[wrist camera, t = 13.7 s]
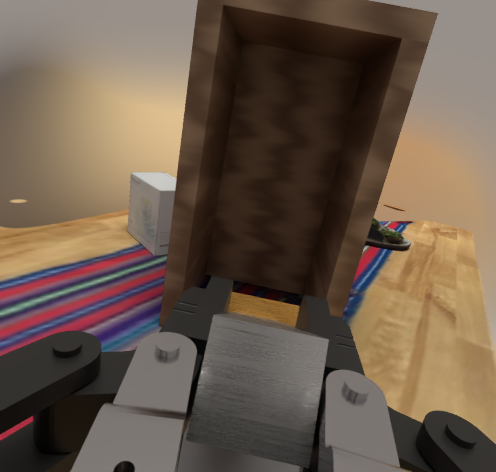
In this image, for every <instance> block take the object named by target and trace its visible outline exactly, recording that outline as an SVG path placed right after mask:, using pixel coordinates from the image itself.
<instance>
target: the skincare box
mask: <svg viewBox="0 0 496 472" xmlns="http://www.w3.org/2000/svg"><path fill="white" fill-rule="evenodd" d="M176 180H177V179H176V178H174V177H172V176H170V175H168V174H167V173H165V172H131V181H130V200H129V216H128V232H129V233H130V234H131V235H132V236H133V237H134V238H135V239H137V240H138V241H139V242H140V243H141V244H142V245H143V246H144V247H145V248H146V249H147V250H149V251H150V252H151V253H152V254H153V255H154V256H160V255H166V254H168V247H169V239H170V230H171V222H172V213H173V205H174V197H175V188H176Z"/></svg>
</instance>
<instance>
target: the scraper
mask: <svg viewBox="0 0 496 472" xmlns="http://www.w3.org/2000/svg"><path fill="white" fill-rule="evenodd" d="M298 311H299V306H298V305H293V304H288V303H283V302H279V301H274V300H269V299H264V298H259V297H255V296H250V295H245V294H240V293H236V292H232V294H231V299H230V305H229V310H228V313H226V314H216V315H213V319H212V323H211V328H210V332H209V337H208V341H207V346H206V350H205V355H204V359H203V364H202V368H201V373H200V378H199V382H198V387H197V391H196V396H195V400H194V405H193V409H192V414H191V418H190V423H189V427H188V432H187V436H186V441H190V442H195V443H199V444H204V445H208V446H212V447H217V448H221V449H226V450H230V451H234V452H239V453H243V454H248V455H252V456H257V457H261V458H265V459H270V460H274V461H279V462H283V463H287V464H292V465H296V466H301V467H305V468H309V465H310V458H311V452H312V445H313V439H314V432H315V426H316V419H317V413H318V406H319V400H320V394H321V387H322V381H323V374H324V368H325V361H326V355H327V348H328V342H329V339H326V338H323V337H321V336H318V335H315V334H313V333H309V332H306V331H304V330H301V329H298V328H295V325H296V321H297V317H298Z"/></svg>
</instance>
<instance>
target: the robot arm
mask: <svg viewBox="0 0 496 472" xmlns="http://www.w3.org/2000/svg"><path fill="white" fill-rule="evenodd" d="M233 282H234V280H232V279H227V278H222V277H218V276H213V275H212V277H211V279H210V281H209V283H208V285H207V287H206V289H203V288H199V287H194V286H193V287H191V288H190V289H188V290H186V291H184V292H183V293H182V294H181V296H180V298H179V300H178V302H177V303H176V305H175V306H174V308H173V310H172V311H171V313H170V315H169V316H168V318H167V320H166V321H165V323H164V325H163V326H162V328H161V330H160V331H159V333H155V334H152V335H149V336H147V337H146V338H144V339H143V340H142V341H141V342H140V343H139V345H138V347H137V349H136V350H132V351H124V352H101V343H100V341H99V340H98V339H97V338H96V337H95V336H93V335H92V334H89V333H86V332H81V331H65V332H60V333H56V334H53V335H50V336H47V337H45V338H43V339H40V340H38V341H35V342H33V343H31V344H28V345H26V346H23V347H21V348H19V349H16V350H14V351H11V352H9V353H7V354H4V355H2V356H0V434H2V433H3V432H5V431H7V430H9V429H10V428H12V427H14V426H15V425H17V424H19V423H21V422H22V421H24V420H26V419H28V418H29V417H31V416H33V422H31V423H30V424H28V425H26V426H25V427H23V428H21V429H19V430H18V431H16V432H14V433H13V434H11V435H9V436H8V437H6V438H4V439H3V440H1V441H0V472H69V471H70V470H71V469H72V470H71V472H177V471H178V465H179V459H180V454H181V448H182V442H183V436H184V432H185V431H186V429H187V427H188V424H189V420H190V417H191V414H192V409H193V405H194V400H195V396H196V391H197V387H198V382H199V378H200V373H201V368H202V364H203V359H204V355H205V350H206V346H207V341H208V337H209V332H210V328H211V323H212V319H213V315H216V314H226V313H228V310H229V305H230V299H231V294H232V288H233ZM295 328H298V329H301V330H304V331H306V332H309V333H313V334H315V335H318V336H321V337H323V338H326V339H329V342H328V348H327V355H326V361H325V368H324V374H323V381H322V387H321V394H320V400H319V406H318V413H317V419H316V426H315V432H314V439H313V445H312V452H311V458H310V465H309V468H305V467H301V466H300V468H299V472H496V444H495V443H494V442H492V441H491V440H490V439H489V438H488V437H487V436H486V435H485V434H484V433H482V432H481V431H480V430H479V429H478V428H477V427H475V426H474V425H473V424H471V423H470V422H468V421H467V420H465V419H463V418H461V417H459V416H457V415H454V414H452V413H449V412H445V411H432V412H429V413H428V414H427V415H426V416H425V418H424V420H423V423H421V422H419V421H417V420H414V419H412V418H410V417H408V416H406V415H403V414H401V413H399V412H397V411H395V410H393V409H392V408H390V407H388V406H387V403H386V398H385V395H384V394H383V392H382V390H381V389H380V388H379V387H378V386H377V385H376V384H375V383H374V382H373V381H372V380H370V379H369V378H367V377H365V374H364V371H363V368H362V364H361V361H360V358H359V355H358V352H357V349H356V346H355V342H354V340H353V336H352V333H351V330H350V327H349V326H348V325H347V324H346V323H345V322H344V321H343V320H342V318H341V317H336V316H331V314H330V310H329V306H328V302H327V299H323V298H318V297H313V296H308V295H304V296H303V298H302V302H301V305H300V309H299V313H298V317H297V321H296V325H295Z"/></svg>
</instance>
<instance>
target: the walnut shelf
mask: <svg viewBox="0 0 496 472" xmlns="http://www.w3.org/2000/svg"><path fill="white" fill-rule="evenodd" d="M437 15H438V13H433V12H428V11H423V10H418V9H412V8H407V7H400V6H395V5H390V4H385V3H380V2H374V1H369V0H198V5H197V12H196V20H195V29H194V38H193V46H192V54H191V62H190V71H189V79H188V88H187V96H186V104H185V113H184V121H183V130H182V138H181V146H180V155H179V163H178V171H177V180H176V188H175V197H174V205H173V213H172V222H171V230H170V239H169V247H168V255H167V264H166V272H165V281H164V289H163V297H162V306H161V314H160V323H159V326H163V325H164V323H165V321H166V320H167V318H168V316H169V315H170V313H171V311H172V310H173V308H174V306H175V305H176V303H177V302H178V300H179V298H180V296H181V294H182V293H183V292H184V291H186V290H188V289H190V288H191V287H193V286H194V287H199V286H200V285H201V283H202V281H203V279H204V277H205V275H206V274H207V275H211V276H212V275H213V276H218V277H222V278H227V279H232V280H235V281H239V282H244V283H249V284H253V285H258V286H263V287H267V288H272V289H277V290H281V291H286V292H291V293H295V294H300V295H302V296H304V295H308V296H313V297H318V298H323V299H327V302H328V306H329V310H330V314H331V316H336V317H341V318H342V315H343V312H344V309H345V306H346V303H347V299H348V296H349V293H350V290H351V287H352V284H353V280H354V277H355V274H356V271H357V268H358V265H359V261H360V258H361V255H362V252H363V249H364V246H365V242H366V239H367V236H368V233H369V230H370V227H371V223H372V220H373V217H374V214H375V211H376V208H377V204H378V201H379V198H380V195H381V192H382V188H383V185H384V182H385V179H386V176H387V173H388V169H389V166H390V163H391V160H392V157H393V154H394V150H395V147H396V144H397V141H398V138H399V135H400V132H401V128H402V125H403V122H404V119H405V116H406V113H407V109H408V106H409V103H410V100H411V97H412V94H413V90H414V87H415V84H416V81H417V78H418V74H419V72H420V68H421V65H422V62H423V59H424V55H425V53H426V49H427V46H428V43H429V40H430V36H431V34H432V30H433V27H434V24H435V21H436V18H437Z"/></svg>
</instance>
